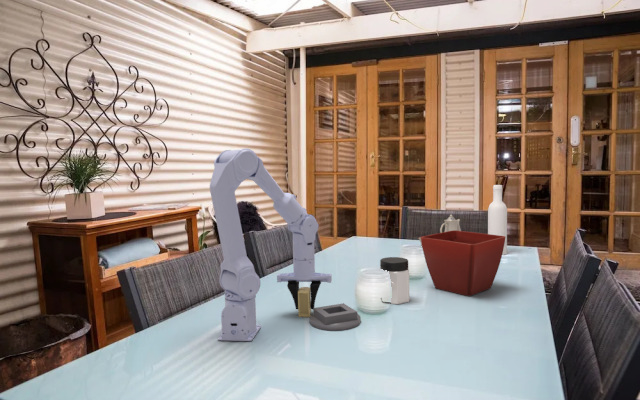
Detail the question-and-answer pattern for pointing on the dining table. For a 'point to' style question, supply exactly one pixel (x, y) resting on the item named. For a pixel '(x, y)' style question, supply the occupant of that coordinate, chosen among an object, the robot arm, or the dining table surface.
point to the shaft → (304, 302)
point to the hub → (335, 318)
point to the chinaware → (449, 225)
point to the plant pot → (463, 260)
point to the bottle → (498, 216)
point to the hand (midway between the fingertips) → (305, 308)
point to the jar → (397, 278)
